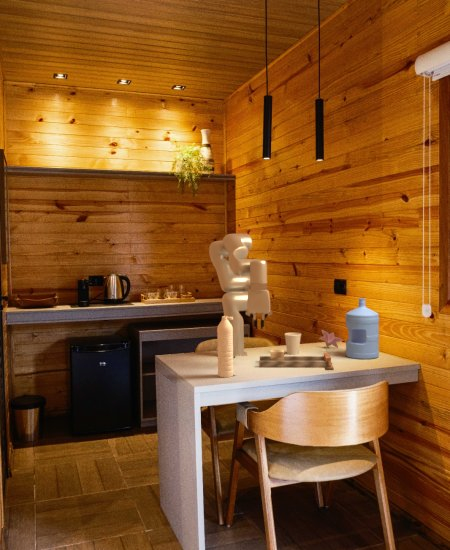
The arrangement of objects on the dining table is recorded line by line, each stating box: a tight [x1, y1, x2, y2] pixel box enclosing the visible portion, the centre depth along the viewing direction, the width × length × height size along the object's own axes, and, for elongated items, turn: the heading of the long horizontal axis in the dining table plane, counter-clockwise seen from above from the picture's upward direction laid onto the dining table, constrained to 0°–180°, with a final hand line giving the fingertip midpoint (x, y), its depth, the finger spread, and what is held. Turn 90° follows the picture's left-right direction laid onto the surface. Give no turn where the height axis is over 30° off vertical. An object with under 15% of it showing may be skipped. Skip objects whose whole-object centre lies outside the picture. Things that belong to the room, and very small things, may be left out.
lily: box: [318, 329, 344, 349], centre depth 294 cm, size 12×12×10 cm
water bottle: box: [216, 315, 234, 378], centre depth 232 cm, size 9×6×25 cm
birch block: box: [270, 349, 285, 361], centre depth 251 cm, size 6×6×6 cm
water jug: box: [345, 297, 380, 360], centre depth 271 cm, size 16×16×28 cm
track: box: [258, 352, 334, 371], centre depth 250 cm, size 32×14×5 cm, turn 85°
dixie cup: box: [284, 332, 302, 356], centre depth 281 cm, size 8×8×10 cm
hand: (259, 328), depth 251 cm, fingers closed
